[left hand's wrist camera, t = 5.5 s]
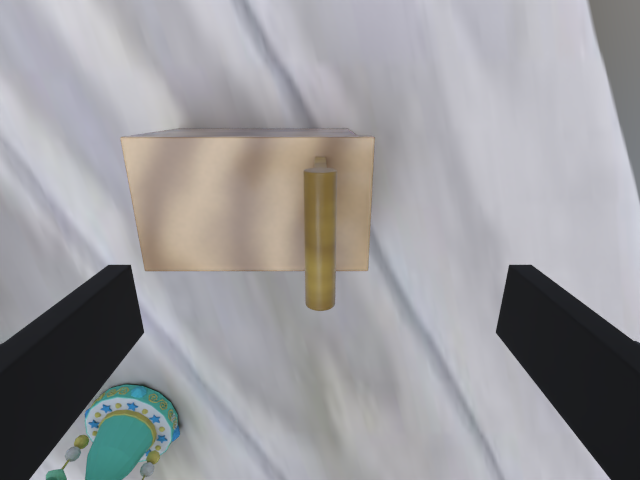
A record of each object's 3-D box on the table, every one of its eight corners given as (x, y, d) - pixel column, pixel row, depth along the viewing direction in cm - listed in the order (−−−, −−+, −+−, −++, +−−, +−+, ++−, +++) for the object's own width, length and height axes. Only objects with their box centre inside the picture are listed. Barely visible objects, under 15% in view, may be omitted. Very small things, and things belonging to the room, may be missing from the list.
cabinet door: (372, 135, 24) (397, 149, 16) (366, 264, 27) (385, 328, 19) (128, 135, 24) (36, 149, 16) (151, 265, 27) (83, 328, 19)
